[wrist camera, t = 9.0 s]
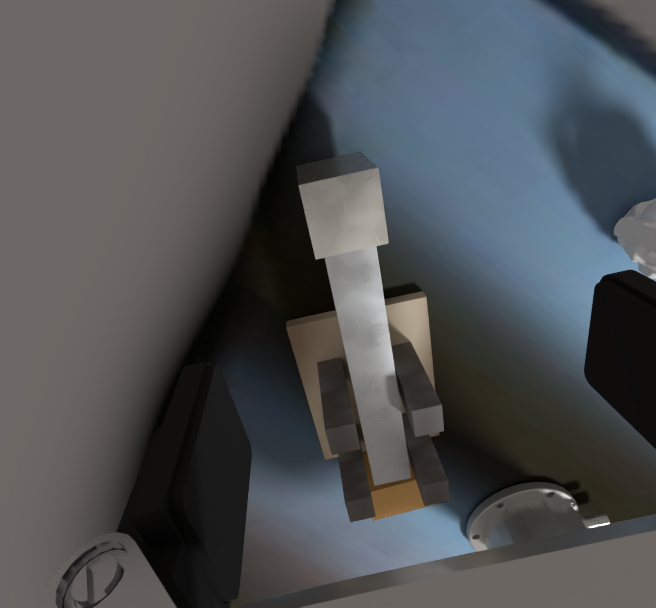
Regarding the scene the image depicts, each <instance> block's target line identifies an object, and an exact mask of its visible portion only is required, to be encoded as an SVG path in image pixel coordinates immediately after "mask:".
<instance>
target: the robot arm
mask: <svg viewBox="0 0 656 608" xmlns="http://www.w3.org/2000/svg"><path fill="white" fill-rule="evenodd" d="M584 374H585V377H586V380H587V381H588V383H589V384H590V385H591V386H592V387H593V388H594V389H595V390H596V391H597V392H598V393H599V394H600V395H601V396H602V397H603V398H604V399H605V400H606V401H607V402H608V403H609V404H610V405H611V406H612V407H613V408H614V409H615V410H616V411H617V412H618V413H619V414H620V415H621V416H622V417H623V418H624V419H625V420H626V421H627V422H629V423H630V424H631V425H632V426H633V427H634V428H635V429H636V430H637V431H638V432H639V433H640V434H641V435H642V436H643V437H644V438H645V439H646V440H647V441H648V442H649V443H650V444H651V445H652V446H653V447H654V448H655V449H656V281H654V280H652V279H650V278H648V277H646V276H644V275H642V274H640V273H638V272H637V271H634V270H626V271H621V272H617V273H612V274H608V275H605V276H603V277H602V279H601V280H600V282H599V283H597V284H596V286H595V289H594V296H593V304H592V312H591V320H590V328H589V335H588V343H587V351H586V359H585V367H584ZM251 458H252V453H251V446H250V442H249V439H248V437H247V434H246V432H245V429H244V427H243V424H242V422H241V419H240V417H239V414H238V412H237V409H236V407H235V404H234V402H233V399H232V397H231V395H230V392H229V390H228V387H227V385H226V382H225V380H224V377H223V375H222V372H221V370H220V368H219V366H217V365H215V366H212V365H211V364H210V363H209V362H208V361H206V362H202V363H197V364H192V365H188V366H185V367H184V368H183V370H182V372H181V375H180V378H179V381H178V383H177V386H176V389H175V392H174V394H173V397H172V400H171V403H170V405H169V408H168V411H167V413H166V416H165V419H164V422H163V424H162V426H160V427H159V428H157V429H156V431H155V433H154V435H153V438H152V440H151V443H150V445H149V448H148V450H147V453H146V456H145V458H144V461H143V464H142V466H141V469H140V472H139V474H138V477H137V479H136V482H135V485H134V487H133V490H132V492H131V495H130V498H129V500H128V503H127V506H126V508H125V511H124V513H123V516H122V519H121V521H120V524H119V527H118V529H117V532H116V533H110V534H105V535H103V536H100V537H98V538H96V539H93V540H92V541H90V542H89V543H87V544H85V545H84V546H82V547H81V548H80V549H78V550H77V551H76V552H75V553H74V554H73V555H72V556H71V557H70V558H69V559H67V561H66V562H65V563H64V565H63V566H62V567H61V568H60V569H59V571H58V572H57V573H56V575H55V577H54V579H53V581H52V583H51V585H50V586H49V589H48V592H47V596H46V600H45V608H230V601H231V600H235V599H237V597H238V594H239V588H240V577H241V566H242V555H243V545H244V534H245V523H246V512H247V501H248V491H249V480H250V469H251ZM466 534H467V537H468V540H469V542H470V544H471V546H472V548H473V549H474V550H475V551H476V552H473V553H468V554H464V555H459V556H455V557H450V558H445V559H441V560H436V561H431V562H427V563H422V564H417V565H413V566H408V567H403V568H399V569H394V570H390V571H385V572H380V573H376V574H371V575H366V576H362V577H357V578H352V579H348V580H343V581H339V582H334V583H330V584H325V585H321V586H317V587H313V588H308V589H304V590H300V591H296V592H291V593H287V594H283V595H279V596H274V597H270V598H266V599H261V600H257V601H253V602H249V603H245V604H242V605H238V606H235V607H231V608H656V514H655V515H650V516H645V517H640V518H635V519H631V520H626V521H621V522H616V523H612V522H610V521H609V519H608V517H607V515H606V514H605V513H603V512H601V513H597V514H592V515H591V516H586V517H583V516H582V515H578V506H577V504H576V501H575V500H574V498H573V497H572V496H571V494H570V493H569V492H568V491H567V490H566V489H564V488H563V487H561V486H559V485H556V484H552V483H547V482H529V483H523V484H518V485H514V486H511V487H508V488H505V489H503V490H501V491H499V492H497V493H495V494H493V495H492V496H490V497H488V498H487V499H486V500H484V501H483V502H482V503H481V504H480V505H478V507H477V508H476V509H475V510H474V511H473V513H472V514H471V516H470V518H469V519H468V522H467V526H466Z"/></svg>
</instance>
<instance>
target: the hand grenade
mask: <svg viewBox="0 0 656 608" xmlns="http://www.w3.org/2000/svg"><path fill="white" fill-rule="evenodd" d="M614 235H615V236H617V239H618V244H619V245H620V246H621V247H622V248H623V249H625V252H626V253H627V254H628V255H629V257H630V259H631V260H632V261H633V262H638V269H639V271H640V272H641V273H643V274H644V275H645V276H647V277H649V278H654V279H656V197H655V198H654V199H653V200H650V201H645V202H641V203H638V204H636V205H634V206H633V207H632V209H631V210H629V211H628V212H627V214H626V215H625V216H624V217H623V218H621V219H620V220H619V221H618V222H617V224H616V225H615V228H614Z"/></svg>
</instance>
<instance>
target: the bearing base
mask: <svg viewBox="0 0 656 608" xmlns="http://www.w3.org/2000/svg"><path fill="white" fill-rule="evenodd" d="M384 301H385V308H386V314H387V321H388V327H389V334H390V341H391V347H392V354H393V360H394V367H395V374H396V380H397V387H398V394H399V400H400V407H401V413H402V420H403V427H404V433H405V440H406V447H407V453H408V458H409V461H410V464H411V467H412V470H413V473H414V476H415V479H416V482H417V485H418V488H419V491H420V494H421V497H422V500H423V503H424V506H428V505H433V504H437V503H442V502H447V501H450V493H449V481H448V478H447V476H446V473H445V471H444V468H443V466H442V464H441V461H440V459H439V456H438V454H437V452H436V449H435V447H434V444H433V442H432V439H431V437H433V436H438V435H439V432H442V431H444V423H443V412H442V404H441V402H440V400H439V398H438V396H437V394H436V392H435V383H434V373H433V362H432V352H431V341H430V330H429V320H428V309H427V299H426V296H425V294H424V293H423V291H421V292H416V293H412V294H407V295H402V296H398V297H393V298H389V299H384ZM286 328H287V332H288V335H289V338H290V342H291V345H292V349H293V352H294V356H295V359H296V362H297V366H298V369H299V373H300V376H301V379H302V383H303V386H304V390H305V393H306V397H307V400H308V403H309V407H310V410H311V414H312V417H313V420H314V424H315V427H316V431H317V434H318V437H319V441H320V444H321V448H322V451H323V455H324V458H325V460H327V459H332V458H336V457H338V458H339V464H340V471H341V478H342V485H343V492H344V499H345V504H346V508H347V511H348V515H349V519H350V522H354V521H358V520H363V519H368V518H372V517H376V514H375V510H374V505H373V500H372V495H371V491H370V486H369V481H368V477H367V472H366V467H365V462H364V458H363V453H362V452H364V451H367V450H366V446H365V441H364V436H363V432H362V427H361V423H360V418H359V414H358V409H357V404H356V400H355V395H354V391H353V386H352V382H351V377H350V372H349V368H348V363H347V359H346V354H345V350H344V345H343V340H342V336H341V331H340V327H339V322H338V318H337V313H336V310H335V311H330V312H325V313H321V314H316V315H312V316H307V317H303V318H298V319H294V320H289V321H286Z"/></svg>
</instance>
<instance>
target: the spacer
mask: <svg viewBox="0 0 656 608" xmlns="http://www.w3.org/2000/svg"><path fill="white" fill-rule="evenodd" d="M363 458H364V462H365V467H366V472H367V477H368V481H369V486H370V491H371V495H372V500H373V505H374V510H375V514H376V517H372V519H373V520H377V519H381V518H385V517H389V516H393V515H397V514H400V513H404V512H408V511H412V510H416V509H420V508H424V507H427V506H424V503H423V500H422V497H421V494H420V491H419V488H418V485H417V482H416V479H415V476H414V473H413V470H412V467H411V464H410V461H409V466H410V473H411V478H409V479H404V480H399V481H395V482H390V483H385V484H381V485H376V486H374V482H373V477H372V473H371V468H370V464H369V459H368V455H367V452H365V453H363ZM408 460H409V458H408ZM433 505H435V504H433ZM428 506H431V505H428Z"/></svg>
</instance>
